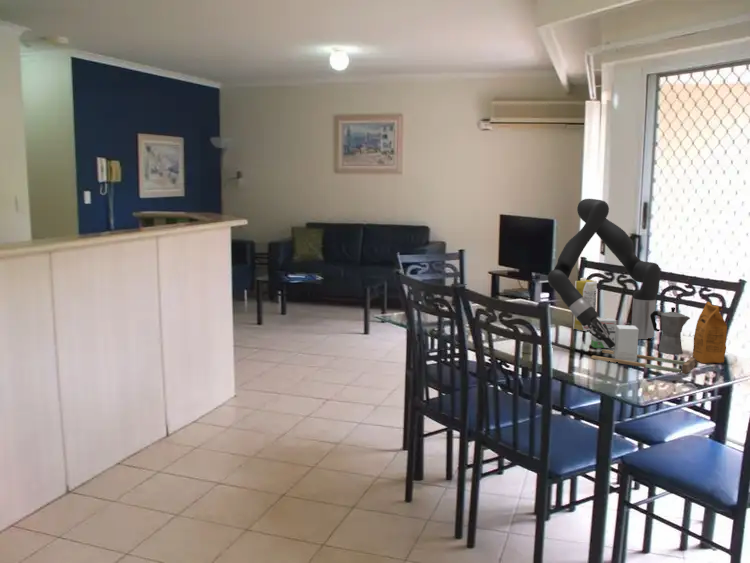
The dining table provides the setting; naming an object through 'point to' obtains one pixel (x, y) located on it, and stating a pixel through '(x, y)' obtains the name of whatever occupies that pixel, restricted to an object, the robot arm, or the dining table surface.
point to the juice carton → (589, 293)
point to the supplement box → (626, 342)
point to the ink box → (611, 327)
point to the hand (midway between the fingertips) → (612, 346)
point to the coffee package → (710, 336)
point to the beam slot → (685, 365)
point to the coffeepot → (670, 330)
